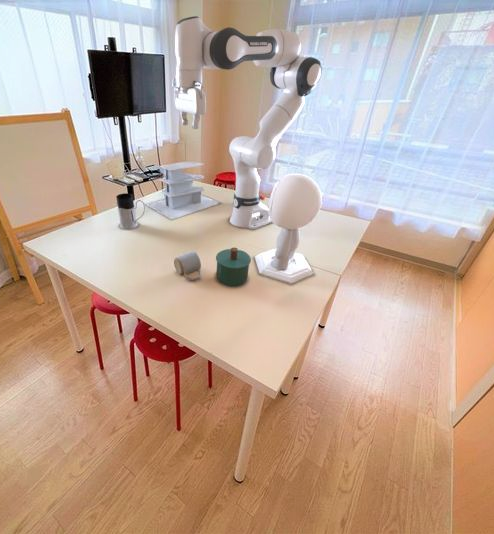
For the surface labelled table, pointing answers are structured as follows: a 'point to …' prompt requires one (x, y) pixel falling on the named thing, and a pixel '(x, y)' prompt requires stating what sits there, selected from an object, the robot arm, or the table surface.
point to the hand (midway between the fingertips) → (189, 126)
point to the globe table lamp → (290, 227)
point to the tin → (232, 276)
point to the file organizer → (181, 192)
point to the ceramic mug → (188, 264)
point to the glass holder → (127, 211)
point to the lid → (233, 258)
